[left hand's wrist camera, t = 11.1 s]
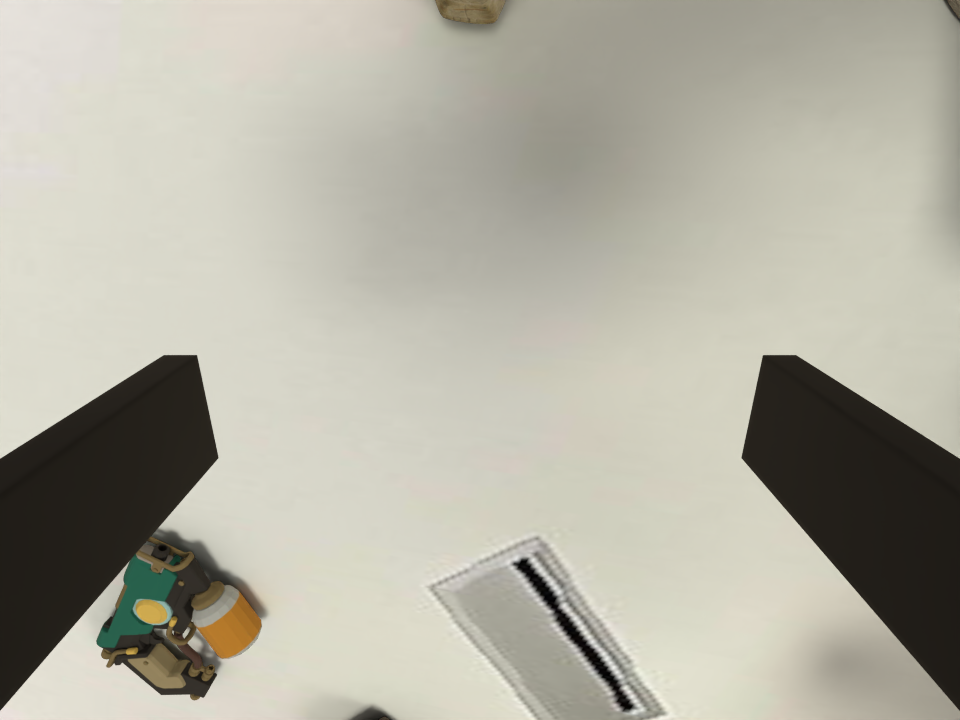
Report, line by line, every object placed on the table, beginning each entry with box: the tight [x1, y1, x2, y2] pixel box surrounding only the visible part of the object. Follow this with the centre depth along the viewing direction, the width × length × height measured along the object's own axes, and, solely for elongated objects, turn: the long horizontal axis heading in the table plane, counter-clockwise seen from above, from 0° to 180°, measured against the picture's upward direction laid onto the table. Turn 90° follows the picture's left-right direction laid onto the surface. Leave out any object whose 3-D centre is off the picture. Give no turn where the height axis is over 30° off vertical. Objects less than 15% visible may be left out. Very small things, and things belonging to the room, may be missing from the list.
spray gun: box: [96, 537, 262, 700], centre depth 48 cm, size 4×17×15 cm
